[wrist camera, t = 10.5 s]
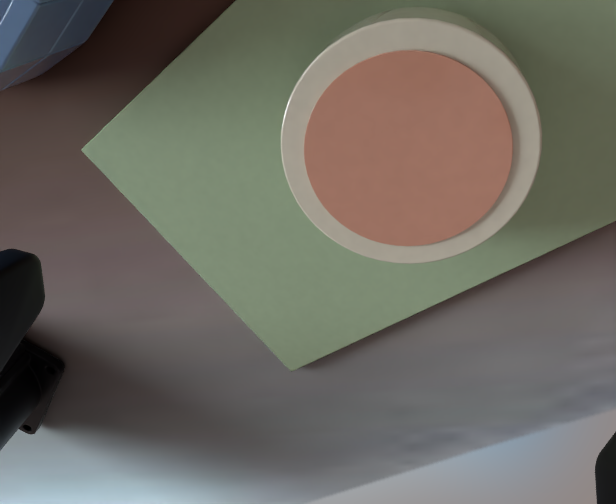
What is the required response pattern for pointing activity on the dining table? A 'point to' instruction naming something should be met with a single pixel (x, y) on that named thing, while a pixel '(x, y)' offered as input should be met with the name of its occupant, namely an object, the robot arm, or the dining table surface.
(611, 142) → the placemat
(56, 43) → the blue bowl
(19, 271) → the robot arm
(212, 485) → the dining table surface
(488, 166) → the cream dish
